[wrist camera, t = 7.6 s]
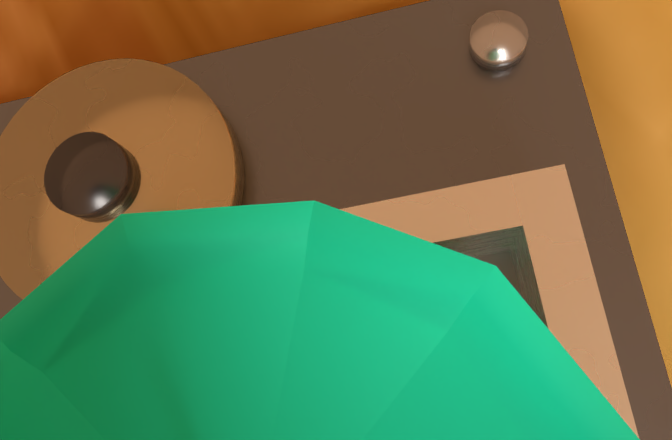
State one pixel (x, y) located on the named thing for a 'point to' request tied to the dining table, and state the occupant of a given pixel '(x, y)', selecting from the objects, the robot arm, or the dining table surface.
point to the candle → (285, 338)
